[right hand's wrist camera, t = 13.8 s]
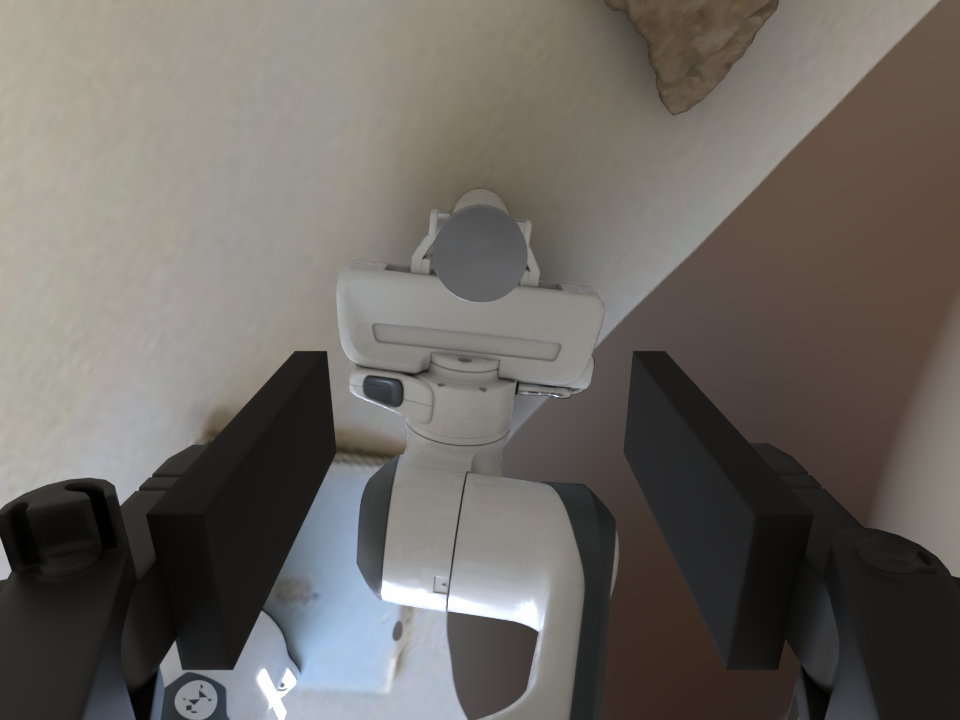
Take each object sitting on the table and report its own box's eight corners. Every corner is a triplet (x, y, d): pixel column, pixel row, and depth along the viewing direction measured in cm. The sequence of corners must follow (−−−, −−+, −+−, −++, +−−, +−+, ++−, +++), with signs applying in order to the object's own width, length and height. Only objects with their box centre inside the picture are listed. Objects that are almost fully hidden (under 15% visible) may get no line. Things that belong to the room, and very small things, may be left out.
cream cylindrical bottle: (467, 253, 50) (460, 308, 33) (444, 203, 48) (424, 234, 31) (516, 230, 49) (534, 275, 32) (493, 179, 48) (501, 198, 31)
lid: (458, 307, 34) (457, 317, 32) (420, 227, 33) (416, 232, 31) (538, 272, 34) (542, 280, 32) (503, 188, 32) (504, 191, 30)
